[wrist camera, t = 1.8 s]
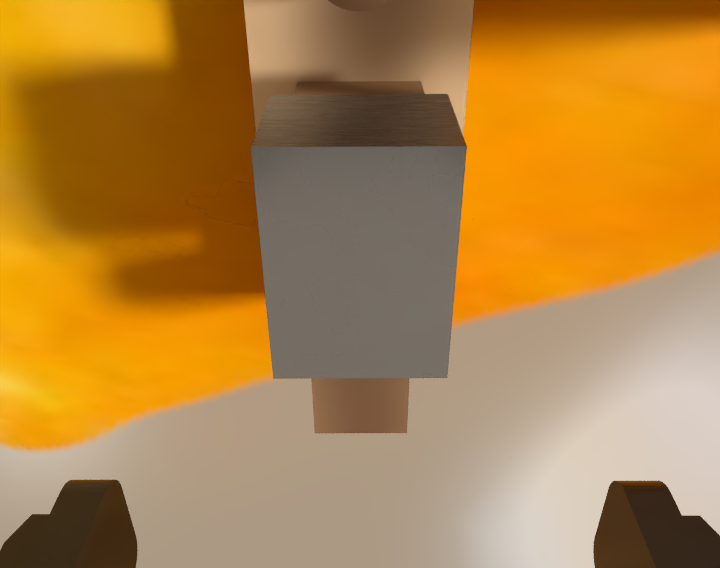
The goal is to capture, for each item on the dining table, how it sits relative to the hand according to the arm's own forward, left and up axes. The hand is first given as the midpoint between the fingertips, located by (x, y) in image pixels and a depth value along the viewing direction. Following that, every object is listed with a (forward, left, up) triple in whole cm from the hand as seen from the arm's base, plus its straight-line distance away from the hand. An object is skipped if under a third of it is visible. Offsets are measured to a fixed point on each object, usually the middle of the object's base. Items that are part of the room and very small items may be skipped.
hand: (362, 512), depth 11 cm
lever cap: (0, 0, -12) cm, 12 cm away
